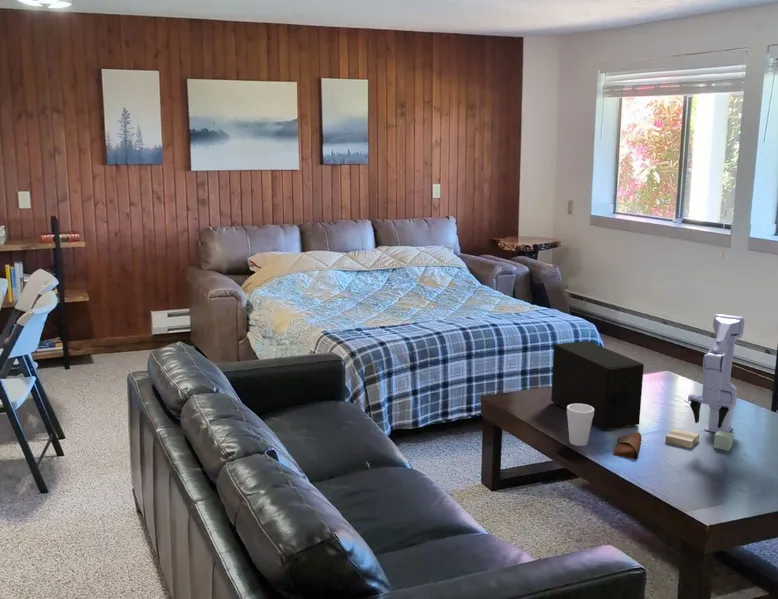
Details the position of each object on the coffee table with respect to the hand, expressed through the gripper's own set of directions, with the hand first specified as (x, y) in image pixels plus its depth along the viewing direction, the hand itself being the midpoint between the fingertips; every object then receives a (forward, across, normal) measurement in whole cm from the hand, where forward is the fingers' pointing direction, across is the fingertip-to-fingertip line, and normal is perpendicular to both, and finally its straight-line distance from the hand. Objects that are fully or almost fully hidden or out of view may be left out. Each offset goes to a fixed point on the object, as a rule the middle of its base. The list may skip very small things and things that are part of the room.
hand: (708, 424), depth 275 cm
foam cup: (+10, -38, -21) cm, 44 cm away
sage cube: (+10, +4, +7) cm, 13 cm away
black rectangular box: (+10, -44, +10) cm, 47 cm away
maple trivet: (+10, -9, +3) cm, 14 cm away
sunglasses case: (+10, -22, -15) cm, 29 cm away
